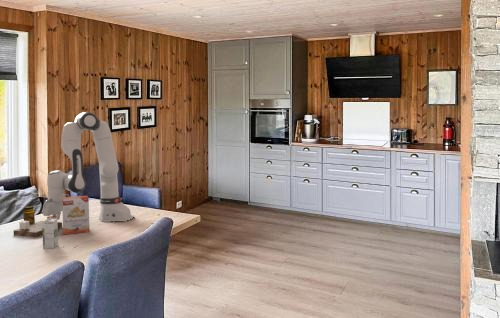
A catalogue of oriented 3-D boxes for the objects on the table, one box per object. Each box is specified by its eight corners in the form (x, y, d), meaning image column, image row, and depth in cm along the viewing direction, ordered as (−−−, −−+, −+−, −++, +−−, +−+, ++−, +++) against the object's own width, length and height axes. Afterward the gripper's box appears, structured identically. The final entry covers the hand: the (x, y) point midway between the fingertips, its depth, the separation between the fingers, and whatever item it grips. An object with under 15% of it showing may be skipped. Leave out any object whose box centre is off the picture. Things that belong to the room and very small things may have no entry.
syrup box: (47, 245, 230) (45, 218, 228) (58, 245, 231) (57, 218, 229) (43, 248, 224) (41, 221, 223) (54, 248, 225) (53, 221, 223)
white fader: (29, 228, 251) (29, 221, 250) (25, 229, 248) (25, 222, 247) (23, 227, 252) (23, 220, 251) (19, 228, 249) (19, 221, 248)
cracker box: (64, 235, 249) (62, 199, 246) (63, 232, 254) (61, 197, 251) (90, 232, 255) (88, 196, 253) (88, 229, 260) (87, 194, 258)
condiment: (36, 226, 267) (35, 207, 265) (20, 228, 262) (19, 209, 261) (34, 224, 273) (33, 205, 271) (19, 225, 268) (18, 206, 267)
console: (62, 227, 265) (62, 222, 264) (36, 237, 244) (36, 232, 243) (41, 225, 268) (40, 220, 268) (13, 235, 247) (13, 230, 247)
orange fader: (56, 222, 262) (56, 215, 262) (53, 223, 260) (52, 217, 259) (50, 222, 263) (50, 215, 263) (47, 223, 261) (46, 216, 260)
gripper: (48, 201, 254) (49, 224, 255) (71, 194, 273) (72, 216, 275) (39, 200, 255) (40, 223, 257) (62, 194, 275) (63, 215, 277)
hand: (57, 219), depth 266 cm, fingers closed
